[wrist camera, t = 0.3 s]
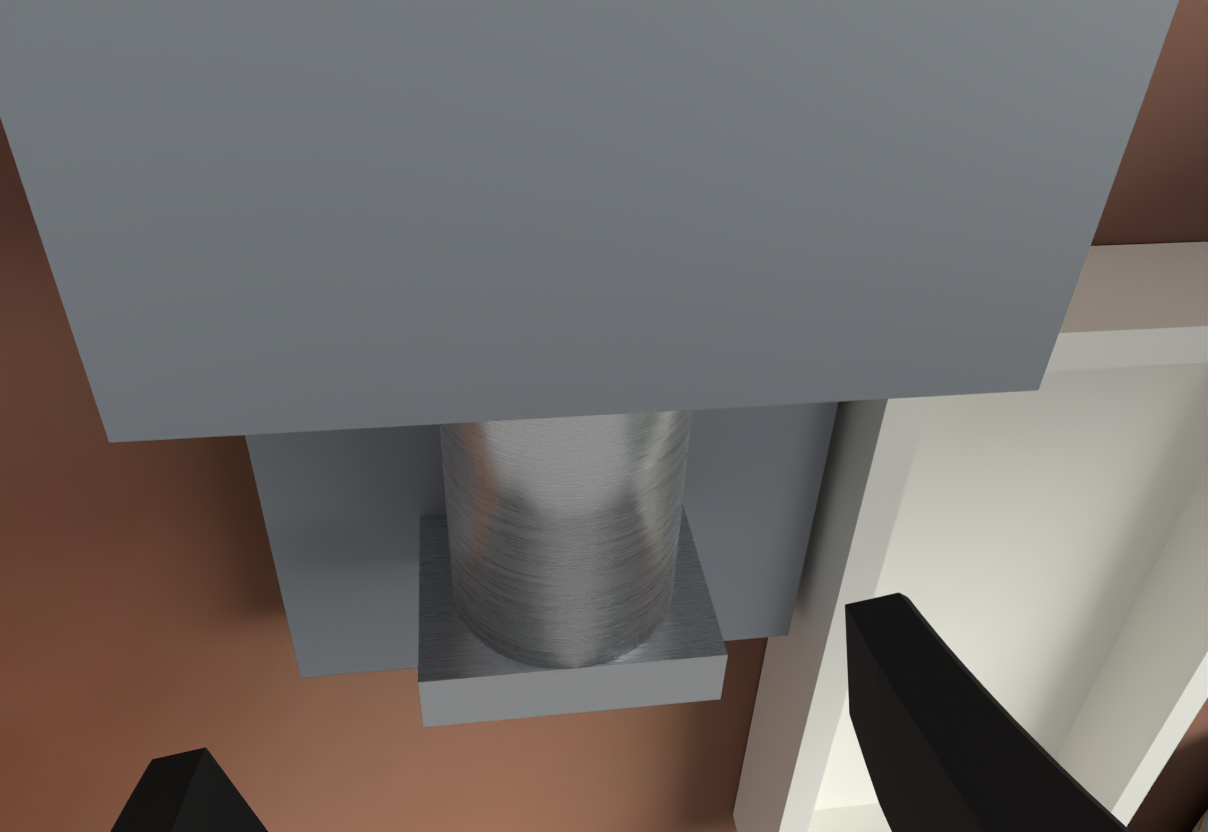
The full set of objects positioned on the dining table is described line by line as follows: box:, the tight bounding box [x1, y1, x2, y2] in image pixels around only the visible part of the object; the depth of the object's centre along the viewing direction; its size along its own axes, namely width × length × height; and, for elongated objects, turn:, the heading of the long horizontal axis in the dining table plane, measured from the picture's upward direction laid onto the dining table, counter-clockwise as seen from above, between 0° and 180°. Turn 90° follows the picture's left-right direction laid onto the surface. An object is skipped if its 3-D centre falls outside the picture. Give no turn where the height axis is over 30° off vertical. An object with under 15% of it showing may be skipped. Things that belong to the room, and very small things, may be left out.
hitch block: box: [0, 0, 1179, 678], centre depth 16 cm, size 18×11×8 cm, turn 178°
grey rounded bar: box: [418, 410, 728, 727], centre depth 15 cm, size 13×5×4 cm, turn 178°
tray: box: [733, 242, 1208, 832], centre depth 25 cm, size 11×20×3 cm, turn 178°
